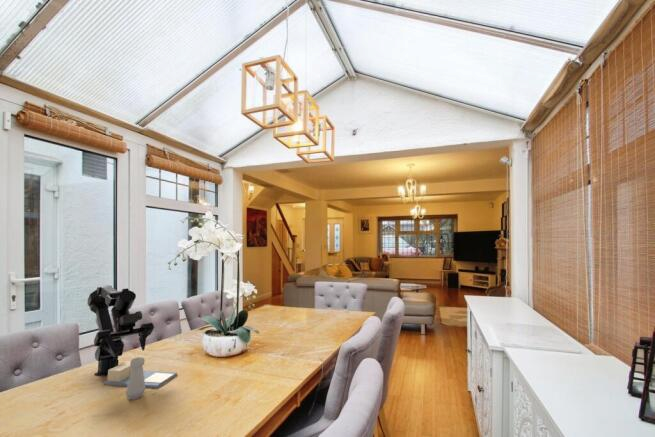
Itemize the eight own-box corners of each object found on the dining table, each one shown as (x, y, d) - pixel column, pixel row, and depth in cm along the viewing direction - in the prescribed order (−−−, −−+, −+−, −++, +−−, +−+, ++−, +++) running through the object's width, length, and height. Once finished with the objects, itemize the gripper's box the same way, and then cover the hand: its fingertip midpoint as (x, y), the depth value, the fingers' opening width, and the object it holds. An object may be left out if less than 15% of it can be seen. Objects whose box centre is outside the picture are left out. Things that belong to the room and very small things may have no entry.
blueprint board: (104, 384, 117) (105, 370, 117) (128, 371, 129) (129, 359, 129) (156, 388, 114) (157, 374, 114) (176, 375, 126) (177, 362, 126)
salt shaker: (135, 402, 104) (137, 362, 105) (121, 400, 105) (123, 360, 106) (148, 393, 110) (150, 356, 111) (135, 392, 111) (137, 355, 112)
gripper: (98, 308, 111) (105, 346, 103) (153, 301, 125) (163, 334, 117) (90, 327, 115) (97, 365, 107) (145, 318, 130) (154, 351, 122)
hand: (130, 353), depth 113 cm, fingers open, 9 cm apart
